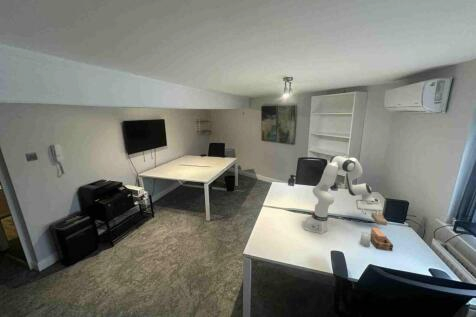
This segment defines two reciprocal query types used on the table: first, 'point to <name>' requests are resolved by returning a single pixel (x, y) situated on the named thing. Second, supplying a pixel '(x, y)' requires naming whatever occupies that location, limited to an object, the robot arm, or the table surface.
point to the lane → (378, 245)
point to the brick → (379, 219)
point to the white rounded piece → (365, 239)
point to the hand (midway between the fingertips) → (370, 214)
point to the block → (378, 234)
